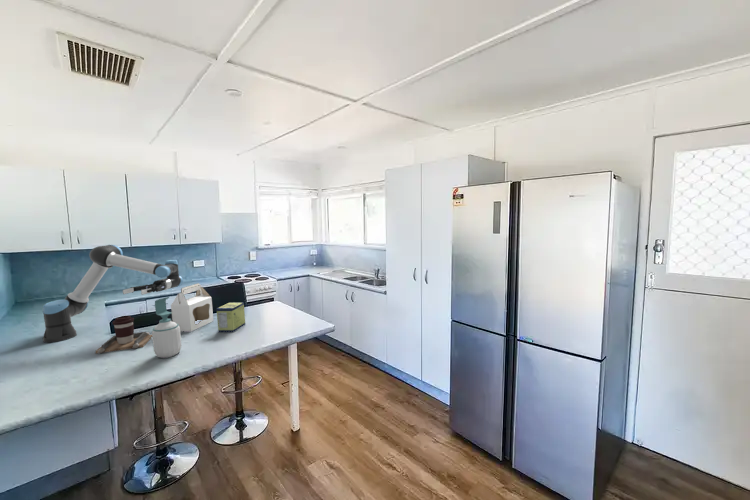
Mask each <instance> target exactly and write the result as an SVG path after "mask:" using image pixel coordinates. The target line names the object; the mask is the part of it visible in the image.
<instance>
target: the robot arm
mask: <svg viewBox="0 0 750 500" xmlns="http://www.w3.org/2000/svg"><path fill="white" fill-rule="evenodd" d="M123 253H124V252H123V250H122V249H121V247H119V246H118V245H115V244H105V245H100V246H96V247H94V248H91V250H90V252H89V259H90V260H91V262H92V264H91V266H90V267H89V269H88V270H87V271H86V273H85V274H84V276H83V277H82V278H81V280H80V282H79V283H78V284H77V285H76V287H75V288H74V290H73V292H69V293H68V294H66V296H65V298H64V299H56V300H55V299H54V300H52V301H48V302H47V303H44V304H43V306H42V313H43V319H44V320H43V321H44V327H45V329H44V333H43V335H42V341H43V342H44V343H55V342H57V343H58V342H60V341H66V340H69V339H71V338H74V337H77V335H78V334H77V330H76V328H75V327H74V326H73V323H72V317H74V316H77V315H80V314H81V313H84V311H86V310H87V309H88V307H89V301H90V298H89V296H91V293H93V292H94V290H95V288H96V286H97V285H98V284H99V283H100V280H101V279H102V278H103V276H104V275H105V274H106V272H107V271H108V269H112V268H113V267H118V268H122V269H127V270H132V271H136V272H140V273H145V274H151V275H154V276H157V277H158V278H161V279H158V280H154V281H153V282H152V283H150V284H144V285H137V286H131V287H129V288H125V289H122V294H123V295H127V294H131V293H134V292H141V293H140V294H141V295H142V296H143V295H147V294H150V293H151V294H152V293H154V292H156V293H158V292H163V291H167V290H169V289H174V288H176V287H180V286H182V285H183V284H184V279H183V276H181V275H180V271H179V263H178V260H177V259H170V260H169V259H168V260H165V262H164V264H162V263H157V262H152V261H149V260H148V261H147V260H144V259H140V258H135V257H131V256H127V255H123Z"/></svg>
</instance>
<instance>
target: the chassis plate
mask: <svg viewBox="0 0 750 500" xmlns="http://www.w3.org/2000/svg"><path fill="white" fill-rule="evenodd" d="M151 337H152V334H150V332H149V331H148V332H147V331H139V332H134V334H133V341H132V342H130V343H127V344H118V341H117V337H116V334H115V335H112V337H110V338H109V339H108V340H107V341H105V342H104V343H103V344H101V346H99V348H98V349H96V350H95V354H103V353H109V352H110V353H111V352H116V351H125V350H129V349H131V350H132V349H139V348H143V347H145V346H146V344H148V342H149V341H150V340H151V339H152V338H153V337H152V338H151Z"/></svg>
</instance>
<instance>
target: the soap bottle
mask: <svg viewBox="0 0 750 500" xmlns="http://www.w3.org/2000/svg"><path fill="white" fill-rule="evenodd" d="M168 299H170V296H167V297H163V298H158V299H156V300H154V309H155V314H156V315H157V316H160V317H161V318H162V319H159V323H158V324H157V325H155V326H154V327H153V328H152V331H151V335H152V344H153V353H154V354H155V356H156V358H160V359H161V358H162V359H167V358H171V357H174V356H177V354H179V353H180V352H181V349H182V337H181V331H180V327H179V326H178V325H179V324H177V323H175V322H173V321H172V318H168V317H169V316H170V315H172V311H168V310H167V300H168Z"/></svg>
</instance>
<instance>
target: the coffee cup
mask: <svg viewBox="0 0 750 500" xmlns="http://www.w3.org/2000/svg"><path fill="white" fill-rule="evenodd" d="M134 321H135V318H134V317H131V315H123V316H118V317H116V318H115V320H113V321H112V323H111V324H112V325H113V326H114V328H113V329H114V334H115V335H116V337H117V341H118V344H127V343H130V342H132V341H133V334H134V333H135V332H134V331H135V330H134V329H135V327H134V326H135V324H134Z"/></svg>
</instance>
